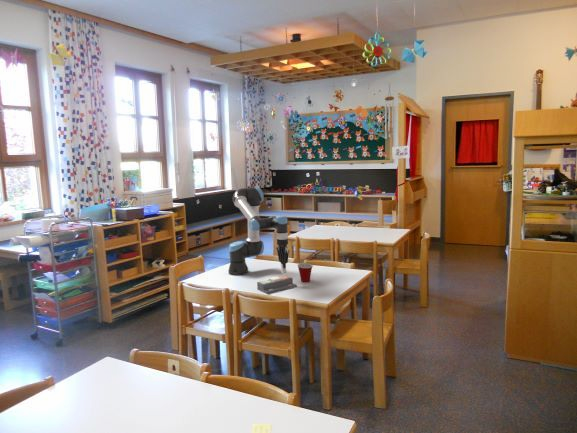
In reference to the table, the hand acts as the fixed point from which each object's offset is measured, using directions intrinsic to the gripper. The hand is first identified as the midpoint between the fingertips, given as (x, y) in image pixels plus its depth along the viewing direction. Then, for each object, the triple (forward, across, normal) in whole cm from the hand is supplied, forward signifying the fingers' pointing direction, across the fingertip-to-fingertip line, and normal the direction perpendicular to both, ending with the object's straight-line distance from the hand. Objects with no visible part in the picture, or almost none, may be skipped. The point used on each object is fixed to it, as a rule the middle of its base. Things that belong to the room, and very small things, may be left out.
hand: (283, 272), depth 298 cm
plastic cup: (+9, +4, +16) cm, 18 cm away
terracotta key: (+6, +1, 0) cm, 6 cm away
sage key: (+6, +1, -15) cm, 16 cm away
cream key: (+5, +1, -7) cm, 9 cm away
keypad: (+9, +3, -7) cm, 12 cm away
